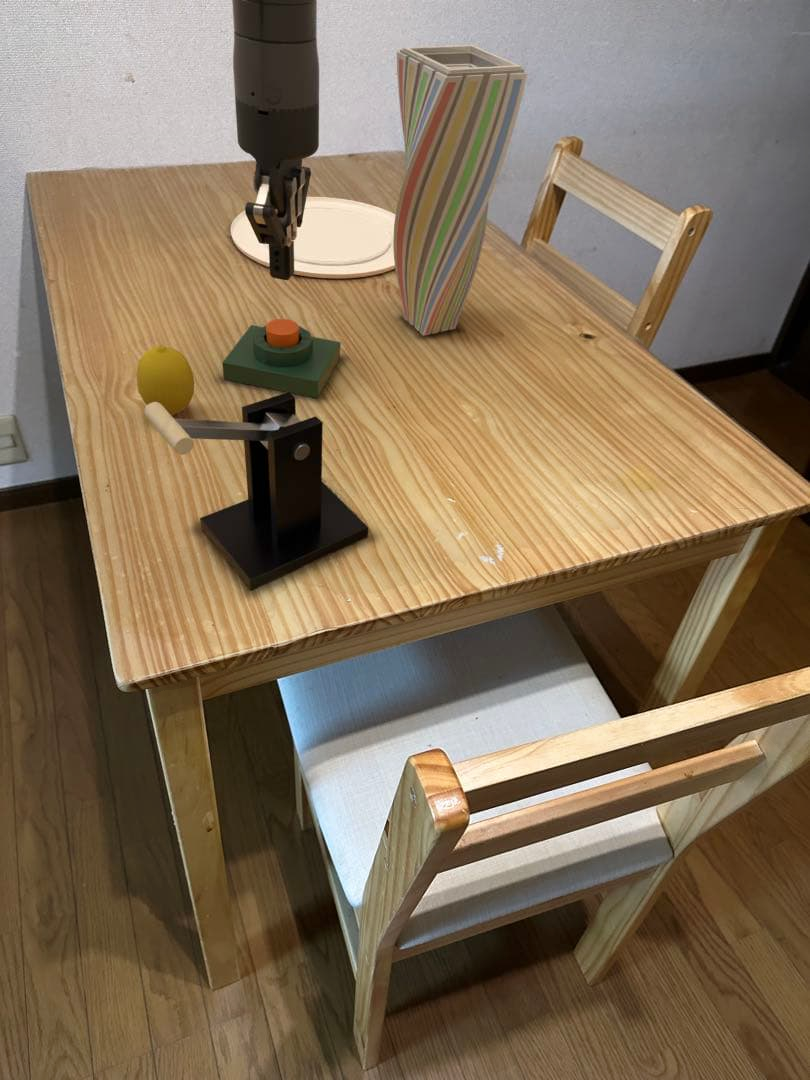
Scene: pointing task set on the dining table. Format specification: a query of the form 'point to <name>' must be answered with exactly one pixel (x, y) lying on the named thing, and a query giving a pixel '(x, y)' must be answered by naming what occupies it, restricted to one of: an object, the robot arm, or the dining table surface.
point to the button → (282, 333)
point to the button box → (282, 362)
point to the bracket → (282, 503)
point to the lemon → (165, 378)
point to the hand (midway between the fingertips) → (282, 276)
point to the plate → (331, 239)
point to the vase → (448, 172)
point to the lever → (212, 428)
